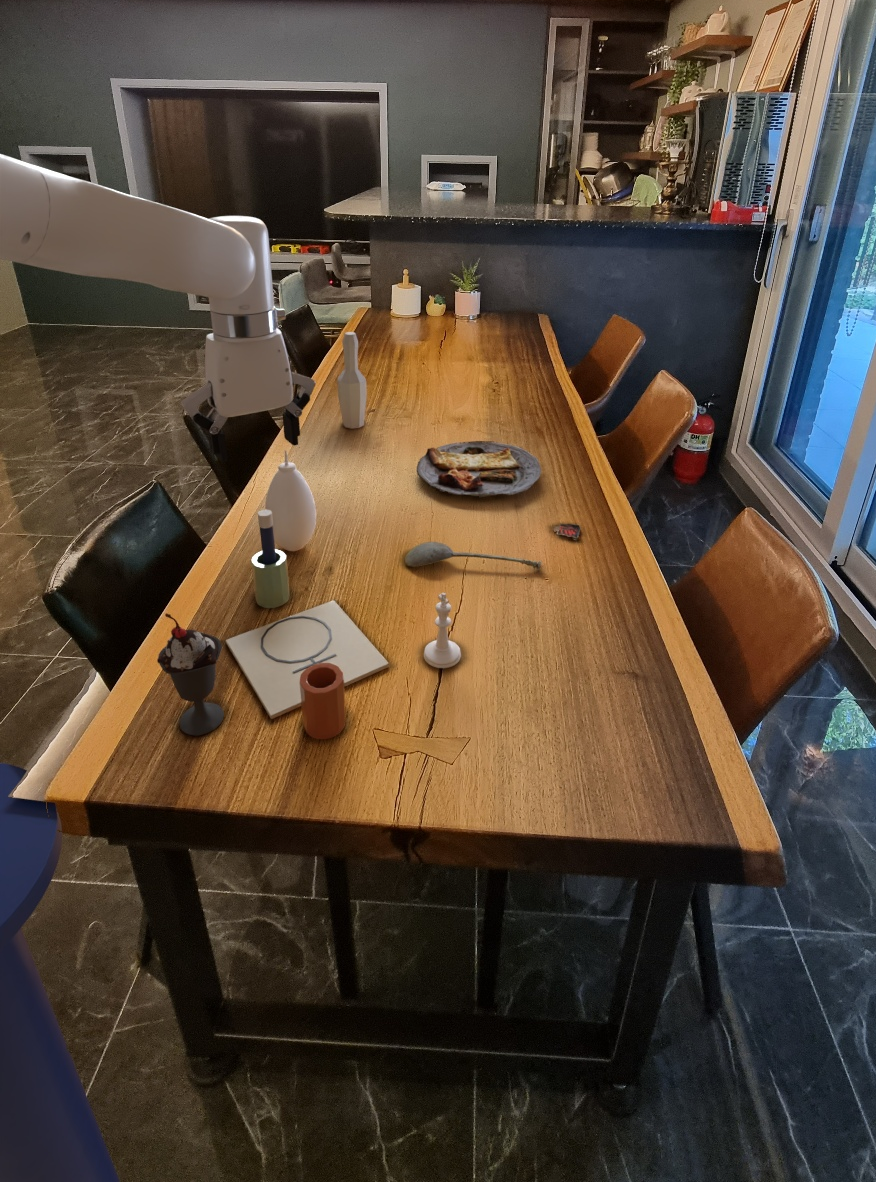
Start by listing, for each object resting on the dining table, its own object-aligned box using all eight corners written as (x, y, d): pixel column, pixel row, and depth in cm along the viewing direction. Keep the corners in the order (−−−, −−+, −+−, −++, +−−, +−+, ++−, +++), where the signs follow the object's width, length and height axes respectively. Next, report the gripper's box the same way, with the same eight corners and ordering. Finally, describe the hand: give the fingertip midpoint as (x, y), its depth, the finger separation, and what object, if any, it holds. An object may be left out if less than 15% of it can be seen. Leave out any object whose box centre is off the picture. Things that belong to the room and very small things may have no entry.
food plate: (415, 503, 129) (415, 486, 128) (417, 451, 150) (417, 436, 149) (548, 503, 130) (549, 487, 129) (531, 451, 151) (532, 437, 150)
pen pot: (314, 746, 78) (310, 699, 75) (297, 718, 81) (293, 673, 79) (352, 727, 80) (350, 681, 78) (334, 702, 84) (331, 657, 81)
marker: (269, 600, 101) (260, 517, 95) (264, 593, 102) (255, 511, 96) (281, 596, 102) (273, 513, 96) (277, 589, 103) (268, 508, 97)
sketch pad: (271, 719, 81) (270, 715, 81) (226, 643, 93) (225, 639, 93) (389, 666, 90) (389, 662, 89) (334, 603, 102) (333, 599, 101)
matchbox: (579, 525, 123) (579, 522, 123) (582, 540, 119) (582, 538, 118) (552, 524, 123) (552, 521, 123) (555, 539, 119) (555, 537, 119)
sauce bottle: (291, 566, 110) (282, 464, 102) (259, 549, 114) (248, 450, 106) (327, 546, 115) (321, 448, 108) (296, 530, 120) (288, 435, 112)
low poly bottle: (334, 423, 163) (329, 332, 154) (356, 417, 167) (353, 328, 158) (349, 432, 159) (346, 338, 150) (372, 425, 163) (370, 334, 153)
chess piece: (437, 673, 89) (438, 610, 85) (416, 652, 92) (416, 590, 88) (468, 658, 92) (470, 596, 87) (446, 638, 95) (448, 578, 91)
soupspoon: (409, 550, 116) (401, 574, 110) (408, 533, 114) (400, 557, 109) (540, 558, 113) (540, 583, 108) (541, 541, 112) (541, 565, 106)
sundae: (170, 706, 83) (150, 604, 76) (228, 692, 85) (214, 592, 79) (171, 748, 77) (149, 642, 71) (233, 732, 79) (218, 628, 73)
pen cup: (263, 612, 99) (258, 571, 96) (251, 595, 103) (246, 555, 100) (294, 601, 102) (291, 561, 99) (282, 584, 105) (278, 545, 102)
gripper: (297, 308, 92) (306, 427, 99) (162, 324, 83) (182, 454, 90) (322, 321, 87) (329, 445, 94) (180, 339, 77) (200, 476, 85)
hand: (257, 449), depth 92 cm, fingers open, 9 cm apart
